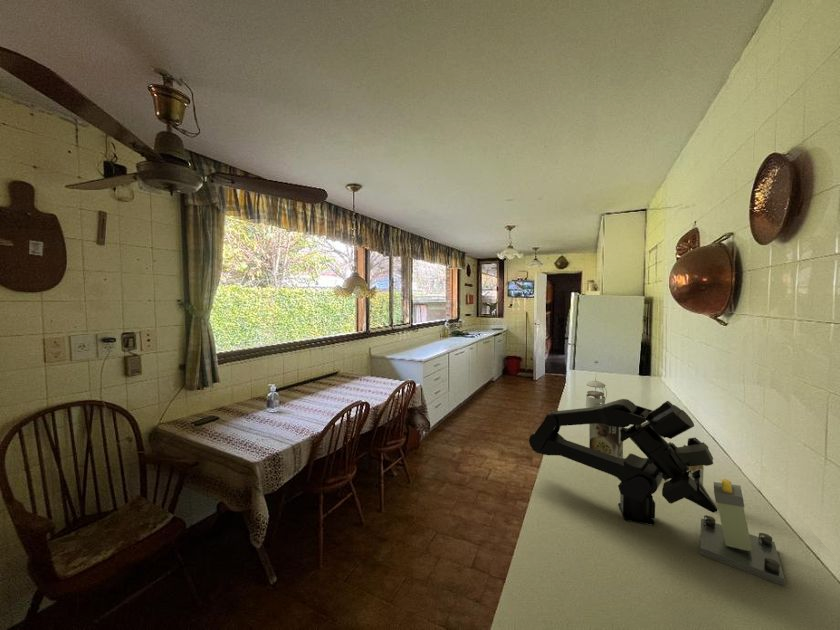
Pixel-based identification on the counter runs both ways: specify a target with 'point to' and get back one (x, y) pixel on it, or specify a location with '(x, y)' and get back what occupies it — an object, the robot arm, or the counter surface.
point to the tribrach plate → (742, 552)
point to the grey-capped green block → (732, 515)
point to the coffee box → (606, 439)
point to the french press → (595, 394)
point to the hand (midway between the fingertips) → (715, 511)
